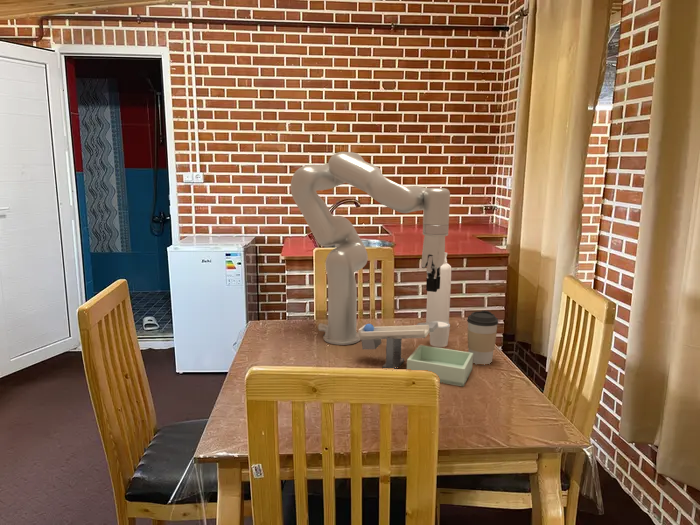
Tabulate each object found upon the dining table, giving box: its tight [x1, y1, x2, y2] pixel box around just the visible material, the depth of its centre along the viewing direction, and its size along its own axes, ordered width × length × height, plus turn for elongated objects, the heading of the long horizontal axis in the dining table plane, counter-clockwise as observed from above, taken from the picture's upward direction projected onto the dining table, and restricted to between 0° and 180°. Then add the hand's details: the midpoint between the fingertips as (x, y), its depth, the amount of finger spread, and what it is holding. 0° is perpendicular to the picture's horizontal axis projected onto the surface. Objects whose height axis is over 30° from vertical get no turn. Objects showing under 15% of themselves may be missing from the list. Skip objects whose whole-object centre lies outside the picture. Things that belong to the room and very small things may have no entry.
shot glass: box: [429, 321, 451, 348], centre depth 171 cm, size 7×7×7 cm
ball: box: [363, 323, 375, 332], centre depth 155 cm, size 3×3×3 cm
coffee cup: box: [467, 310, 499, 366], centre depth 156 cm, size 9×9×15 cm
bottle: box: [425, 252, 452, 324], centre depth 183 cm, size 8×8×28 cm
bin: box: [406, 344, 473, 387], centre depth 148 cm, size 16×13×5 cm
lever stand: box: [382, 337, 405, 370], centre depth 153 cm, size 4×8×10 cm, turn 157°
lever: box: [357, 322, 438, 350], centre depth 155 cm, size 21×12×6 cm, turn 67°
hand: (433, 289), depth 157 cm, fingers open, 2 cm apart
